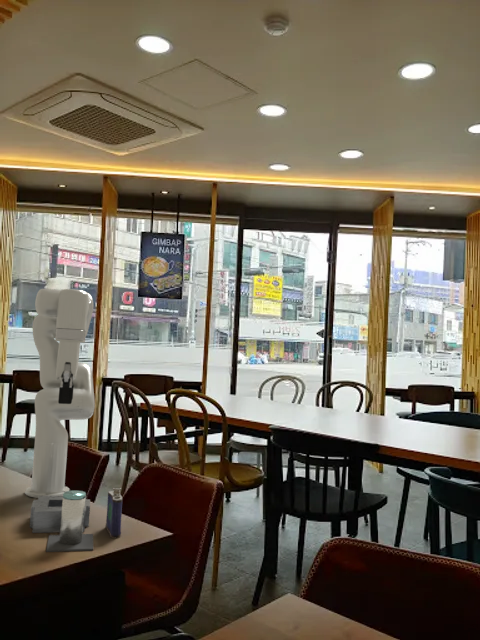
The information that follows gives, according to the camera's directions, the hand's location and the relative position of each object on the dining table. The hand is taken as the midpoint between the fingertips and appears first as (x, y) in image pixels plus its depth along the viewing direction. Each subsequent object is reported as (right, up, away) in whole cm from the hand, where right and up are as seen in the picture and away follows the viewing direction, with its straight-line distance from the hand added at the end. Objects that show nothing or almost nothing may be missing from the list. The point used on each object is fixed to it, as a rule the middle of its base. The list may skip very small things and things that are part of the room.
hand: (65, 401), depth 146 cm
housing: (0, -30, -4) cm, 30 cm away
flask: (+14, -31, -8) cm, 35 cm away
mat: (+7, -30, -18) cm, 35 cm away
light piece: (+7, -29, -18) cm, 35 cm away
